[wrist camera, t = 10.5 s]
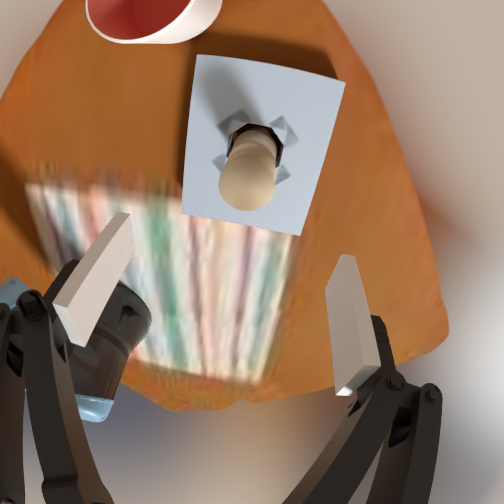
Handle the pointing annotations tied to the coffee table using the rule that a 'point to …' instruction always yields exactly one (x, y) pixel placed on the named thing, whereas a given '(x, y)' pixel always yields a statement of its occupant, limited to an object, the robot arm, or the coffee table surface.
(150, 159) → the coffee table surface
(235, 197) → the peg
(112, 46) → the coffee table surface
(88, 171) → the coffee table surface
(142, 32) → the cup
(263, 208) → the board
